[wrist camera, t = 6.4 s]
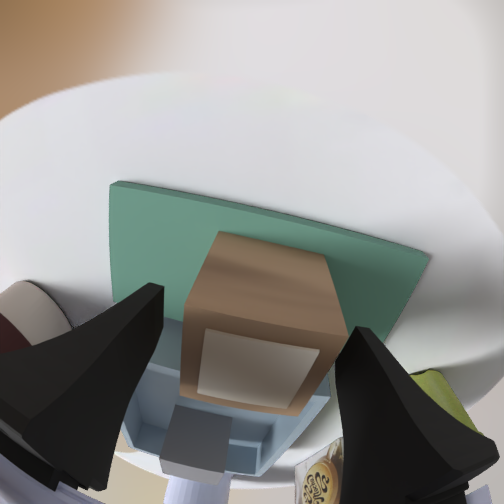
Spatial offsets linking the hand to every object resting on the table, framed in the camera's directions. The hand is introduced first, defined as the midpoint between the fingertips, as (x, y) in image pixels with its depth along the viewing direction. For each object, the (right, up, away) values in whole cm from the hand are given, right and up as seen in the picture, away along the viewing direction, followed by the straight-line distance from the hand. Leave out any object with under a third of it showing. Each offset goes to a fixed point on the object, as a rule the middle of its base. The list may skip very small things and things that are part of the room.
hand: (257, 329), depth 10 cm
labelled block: (0, +1, +3) cm, 3 cm away
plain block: (-4, -11, +10) cm, 15 cm away
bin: (-4, -8, +8) cm, 12 cm away
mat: (0, +2, +3) cm, 4 cm away
